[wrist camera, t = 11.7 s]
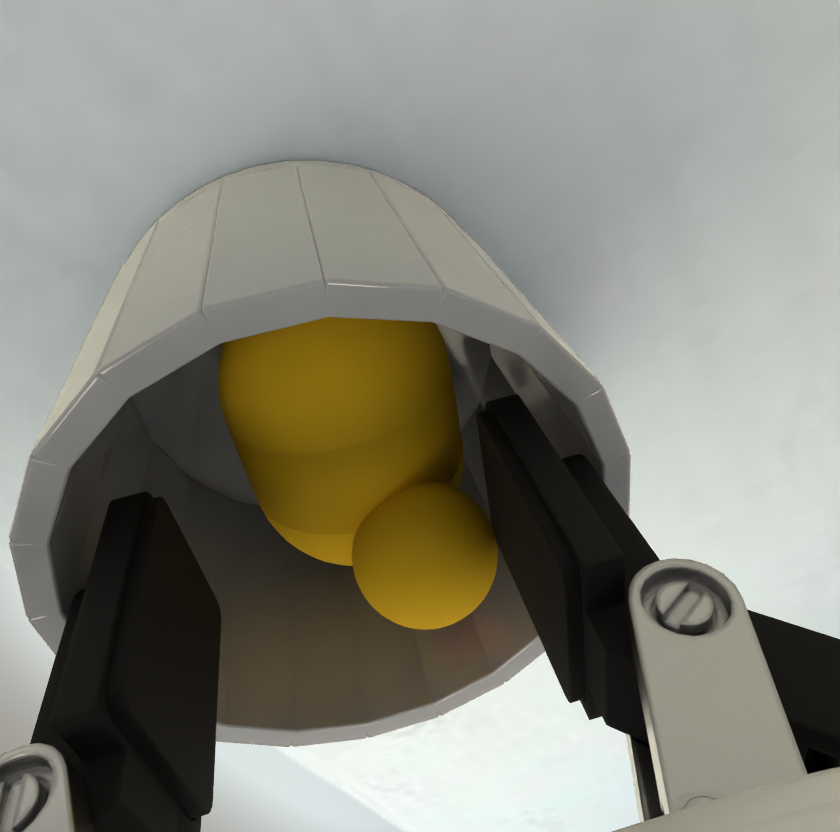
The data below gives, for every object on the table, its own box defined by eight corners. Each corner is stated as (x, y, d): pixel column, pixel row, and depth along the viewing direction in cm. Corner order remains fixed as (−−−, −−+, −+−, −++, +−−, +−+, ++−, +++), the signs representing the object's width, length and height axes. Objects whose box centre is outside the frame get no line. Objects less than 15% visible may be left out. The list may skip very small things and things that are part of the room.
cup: (25, 216, 13) (-153, 394, 7) (478, 115, 14) (638, 203, 8) (194, 546, 18) (167, 800, 13) (514, 460, 19) (627, 661, 13)
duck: (158, 281, 13) (257, 425, 8) (365, 211, 14) (554, 298, 10) (261, 529, 17) (370, 727, 12) (416, 453, 18) (569, 602, 13)
